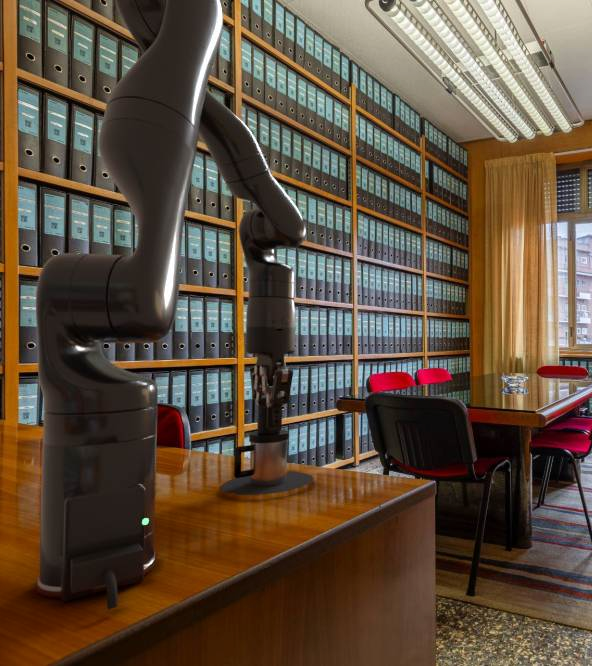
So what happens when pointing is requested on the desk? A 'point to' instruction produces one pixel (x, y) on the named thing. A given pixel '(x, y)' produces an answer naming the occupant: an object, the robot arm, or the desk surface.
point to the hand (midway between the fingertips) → (269, 427)
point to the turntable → (245, 488)
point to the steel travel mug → (264, 454)
